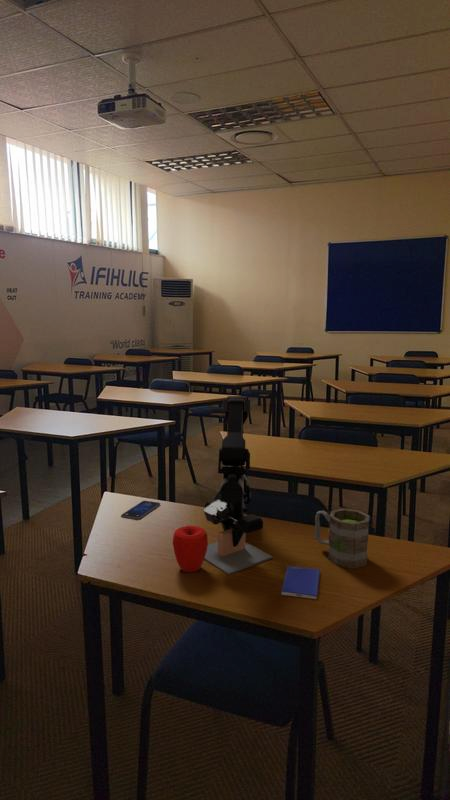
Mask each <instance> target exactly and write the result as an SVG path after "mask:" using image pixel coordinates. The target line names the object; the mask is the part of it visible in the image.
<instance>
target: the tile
mask: <svg viewBox="0 0 450 800" xmlns="http://www.w3.org/2000/svg"><path fill="white" fill-rule="evenodd" d="M217 542H218V554H219V555H221V556H222V557H223V556H226V555H228V554H231V553H234V552H237V551H240V550H242V549H245V542H246V533H244V534H243V536H242V537H241V539H240V541H239V543H238V545H237V546H235V547H234V546H233V538H232V529H229V530H226V531H224V530H223V531H220V532H217Z"/></svg>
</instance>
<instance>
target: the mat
mask: <svg viewBox="0 0 450 800" xmlns="http://www.w3.org/2000/svg"><path fill="white" fill-rule="evenodd" d="M271 559H273V556H272V555H270V554H269V553H267V552H265V551H263V550H261V549H259V548H258V547H255V546H254V545H252V544H250V543H248V542H246V541H245V549H242V550H240V551H237V552H234V553H231V554H228V555H226V556H223V557H222V556H221V555H219V554H218V541H215V542H213V543H209V544H208V547H207V551H206V555H205V558H204V561H206V562H208V563H209V564H211V565H213V566H214V567H216V568H217V569H219V570H220V571H222V572H223V573H225V574H227V575H232V574H234V573H237V572H239V571H242V570H245V569H247V568H250V567H253V566H256V565H257V564H261V563H263V562H266V561H267V560H268V561H269V560H271Z"/></svg>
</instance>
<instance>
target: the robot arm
mask: <svg viewBox="0 0 450 800" xmlns="http://www.w3.org/2000/svg"><path fill="white" fill-rule="evenodd" d="M251 408H252V407H251V399H248V397H247V396H245V395H242V396H240V395H235V396H234V395H228V396H227V398H226V399H225V398H224V399H222V411H223V412H225V413H224V415H225V419H226V420H227V433H226V434H227V435H226V436H225V437H224V438H223V439H222V440H221V441H222V442H221V443H222V444H221V447H219V449H218V466H217V467H218V468H217V471H218V472H217V473H218V474H222V481H221V485H220V489H219V491H220V492H219V494H218V496H217V497H218V498H217V499H213V500H210V501H209V500H208V501H207V502H206V503H205V504H204V508H203V512H204V516H205V519H206V521H207V522H209V523H212V524H213V525H219V524H221V526H222V529H223V531H226V530H229V529H232V538H233V546H234V547H235V546H237V545H238V543H239V541H240V539H241V537H242V536H243V534H244V533H245V534H249V533H252V532H256V531H258V530H261V529H264V519H262V517H260V516H258V515H256V514H254V513H250V514H247V512H248V510H247V509H248V508H247V505H249V503H252V489H251V488H250V484H248V477H247V476H246V475H248V470H251V452H249V451H250V450H249V448H246V439H245V438H244V424H245V423H246V421H247V419H248V418H249V412H250V413H251V410H252V409H251ZM222 465H223V466H222Z"/></svg>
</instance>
